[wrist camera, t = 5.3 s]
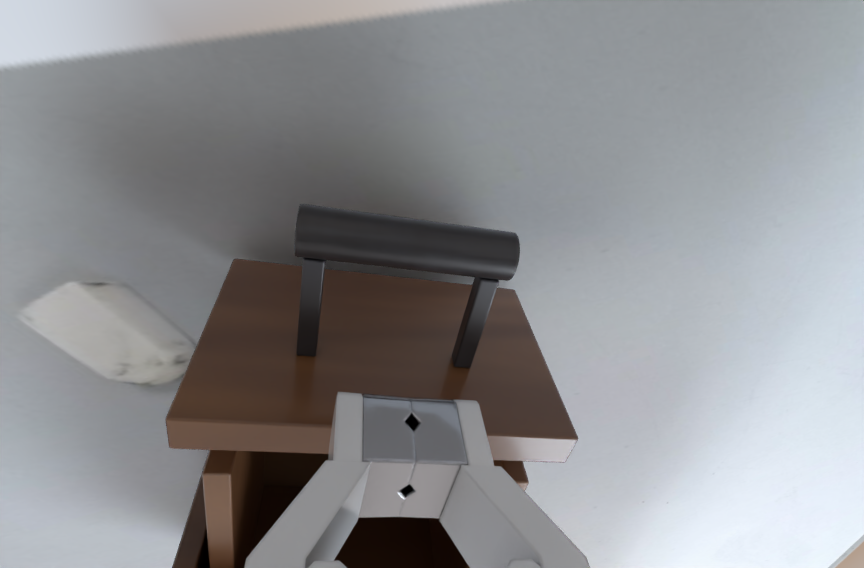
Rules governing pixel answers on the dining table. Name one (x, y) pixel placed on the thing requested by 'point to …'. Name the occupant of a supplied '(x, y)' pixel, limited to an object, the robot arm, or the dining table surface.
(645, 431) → the dining table surface
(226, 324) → the drawer
